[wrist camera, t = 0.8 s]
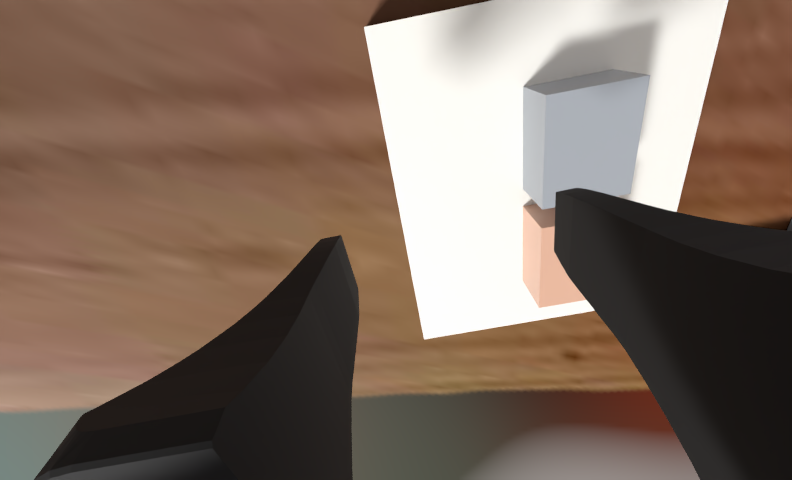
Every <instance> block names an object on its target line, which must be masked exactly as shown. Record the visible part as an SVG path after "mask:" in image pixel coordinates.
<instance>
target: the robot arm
mask: <svg viewBox="0 0 792 480" xmlns="http://www.w3.org/2000/svg"><path fill="white" fill-rule="evenodd" d="M554 252H555V254H556V256H557V258H558V259H559V261H560V263H561V265H562V267H563V268H564V270H565V272H566V273H567V275H568V277H569V278H570V279H571V281H572V282H573V283H574V285H575V286H576V287H577V288H578V290H579V291H580V292H581V294H582V295H583V296H584V297H585V299H586V300H587V301H588V302H589V304H590V305H591V306H592V307H593V309H594V310H595V311H596V312H597V314H598V315H599V316H600V317H601V319H602V320H603V321H604V322H605V324H606V325H607V326H608V327H609V329H610V330H611V331H612V332H613V334H614V335H615V336H616V338H617V339H618V340H619V342H620V343H621V345H622V346H623V347H624V349H625V350H626V352H627V353H628V355H629V356H630V358H631V360H632V361H633V363H634V364H635V366H636V368H637V369H638V371H639V372H640V374H641V375H642V377H643V379H644V380H645V382H646V384H647V385H648V387H649V389H650V390H651V392H652V394H653V395H654V397H655V399H656V400H657V402H658V404H659V405H660V407H661V409H662V410H663V412H664V414H665V415H666V417H667V419H668V421H669V422H670V424H671V426H672V428H673V430H674V432H675V433H676V435H677V437H678V439H679V440H680V442H681V444H682V446H683V448H684V450H685V451H686V453H687V455H688V457H689V459H690V460H691V462H692V464H693V466H694V468H695V470H696V472H697V474H698V476H699V478H700V480H792V231H786V230H777V229H769V228H761V227H754V226H747V225H741V224H735V223H729V222H723V221H717V220H711V219H706V218H701V217H696V216H692V215H687V214H683V213H678V212H674V211H669V210H665V209H661V208H657V207H653V206H649V205H646V204H642V203H638V202H634V201H631V200H627V199H623V198H620V197H616V196H612V195H609V194H605V193H601V192H597V191H593V190H589V189H583V188H573V189H568V190H563V191H558V192H556V200H555V232H554ZM358 323H359V297H358V287H357V284H356V280H355V277H354V274H353V271H352V268H351V265H350V262H349V259H348V255H347V252H346V249H345V246H344V243H343V240H342V237H341V235H340V236H335V237H330V238H325V239H321V240H320V241H319V242H318V243H317V244H316V245H315V246H314V247H313V248H312V249H311V250H310V251H309V253H308V254H307V255H306V256H305V257H304V258H303V259H302V260H301V262H300V263H299V264H298V265H297V266H296V267H295V268H294V269H293V270H292V271H291V273H290V274H289V275H288V276H287V277H286V278H285V279H284V280H283V281H282V282H281V283H280V284H279V285H278V286H277V287H276V288H275V289H274V290H273V291H272V292H271V293H270V294H269V295H268V296H267V297H266V298H265V299H264V300H263V301H261V302H260V303H259V304H258V305H257V306H256V307H255V308H254V309H252V310H251V311H250V312H249V313H248V314H246V315H245V316H244V317H243V318H241V319H240V320H239V321H238V322H237V323H235V324H234V325H233V326H231V327H230V328H229V329H227V330H226V331H224V332H223V333H222V334H220V335H219V336H217V337H216V338H215V339H213V340H212V341H210V342H209V343H207V344H206V345H205V346H203V347H202V348H200V349H199V350H197V351H196V352H194V353H193V354H191V355H190V356H188V357H186V358H185V359H183V360H182V361H180V362H179V363H177V364H175V365H174V366H172V367H170V368H169V369H167V370H165V371H164V372H162V373H160V374H158V375H157V376H155V377H153V378H151V379H150V380H148V381H146V382H144V383H143V384H141V385H139V386H137V387H135V388H133V389H131V390H129V391H127V392H126V393H124V394H122V395H120V396H118V397H116V398H114V399H112V400H110V401H108V402H106V403H105V404H103V405H101V406H99V407H97V408H95V409H93V410H91V411H89V412H87V413H85V414H83V415H82V416H81V417H80V419H79V420H78V421H77V423H76V424H75V425H74V427H73V428H72V429H71V431H70V432H69V434H68V435H67V436H66V438H65V439H64V440H63V442H62V443H61V444H60V446H59V447H58V448H57V450H56V451H55V452H54V454H53V455H52V456H51V458H50V459H49V461H48V462H47V463H46V464H45V466H44V467H43V468H42V470H41V471H40V472H39V474H38V475H37V476H36V478H35V479H34V480H352V437H351V436H352V433H351V396H352V381H353V371H354V362H355V353H356V343H357V333H358Z"/></svg>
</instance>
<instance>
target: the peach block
mask: <svg viewBox="0 0 792 480" xmlns="http://www.w3.org/2000/svg"><path fill="white" fill-rule="evenodd" d="M554 232H555V207H554V208H549V209H543V210H542V209H541V208H540V207H539V206H538V205H537V204H532V205H527V206H523V282H524V284H525V285H526V287H527V289H528V290H529V292H530V294H531V295H532V297H533V299H534V300H535V302H536V304H537V305H538V307H539V308H542V307H548V306H554V305H559V304H565V303H571V302H577V301H583V300H586V299H585V297H584V296H583V295H582V294H581V292H580V291H579V290H578V288H577V287H576V286H575V285H574V283H573V282H572V281H571V279H570V278H569V277H568V275H567V273H566V272H565V270H564V268H563V267H562V265H561V263H560V261H559V259H558V258H557V256H556V254H555V252H554Z"/></svg>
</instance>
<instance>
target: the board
mask: <svg viewBox="0 0 792 480" xmlns="http://www.w3.org/2000/svg"><path fill="white" fill-rule="evenodd" d="M727 4H728V0H491V1H487V2H482V3H477V4H472V5H467V6H462V7H458V8H453V9H448V10H443V11H438V12H434V13H429V14H424V15H419V16H414V17H410V18H405V19H400V20H395V21H390V22H385V23H381V24H376V25H371V26H366V27H364V29H365V35H366V40H367V45H368V50H369V55H370V61H371V66H372V71H373V76H374V81H375V87H376V92H377V97H378V102H379V107H380V113H381V118H382V123H383V128H384V133H385V139H386V144H387V149H388V154H389V159H390V165H391V170H392V175H393V180H394V185H395V191H396V196H397V201H398V206H399V211H400V217H401V222H402V227H403V232H404V237H405V243H406V248H407V253H408V258H409V263H410V269H411V274H412V279H413V284H414V289H415V295H416V300H417V305H418V310H419V315H420V321H421V326H422V331H423V336H424V339H429V338H435V337H441V336H447V335H453V334H459V333H465V332H471V331H477V330H483V329H489V328H495V327H501V326H507V325H512V324H518V323H524V322H530V321H536V320H542V319H548V318H554V317H560V316H566V315H572V314H578V313H584V312H590V311H595V310H594V309H593V307H592V306H591V305H590V304H589V302H588V301H587V300H583V301H577V302H571V303H565V304H559V305H554V306H548V307H542V308H539V307H538V305H537V304H536V302H535V300H534V299H533V297H532V295H531V294H530V292H529V290H528V289H527V287H526V285H525V284H524V282H523V206H527V205H532V204H537V203H536V202H535V201H534V200H533V199H532V198H531V197H530V196H529V195H528V194H527V193H526V192H525V191H524V190H523V87H524V86H529V85H534V84H539V83H545V82H550V81H555V80H560V79H565V78H570V77H575V76H580V75H585V74H590V73H595V72H600V71H606V70H611V69H616V70H622V71H628V72H635V73H641V74H647V75H650V80H649V86H648V92H647V98H646V104H645V110H644V116H643V122H642V128H641V134H640V140H639V146H638V152H637V158H636V164H635V170H634V176H633V182H632V188H631V194H626V195H620V196H616V197H620V198H623V199H627V200H631V201H634V202H638V203H642V204H646V205H649V206H653V207H657V208H661V209H665V210H669V211H674V212H677V208H678V204H679V200H680V196H681V191H682V187H683V183H684V179H685V175H686V171H687V167H688V163H689V159H690V155H691V151H692V147H693V143H694V138H695V134H696V130H697V126H698V122H699V118H700V114H701V110H702V106H703V102H704V98H705V94H706V89H707V85H708V81H709V77H710V73H711V69H712V65H713V61H714V57H715V53H716V49H717V45H718V40H719V36H720V32H721V28H722V24H723V20H724V16H725V12H726V8H727Z"/></svg>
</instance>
